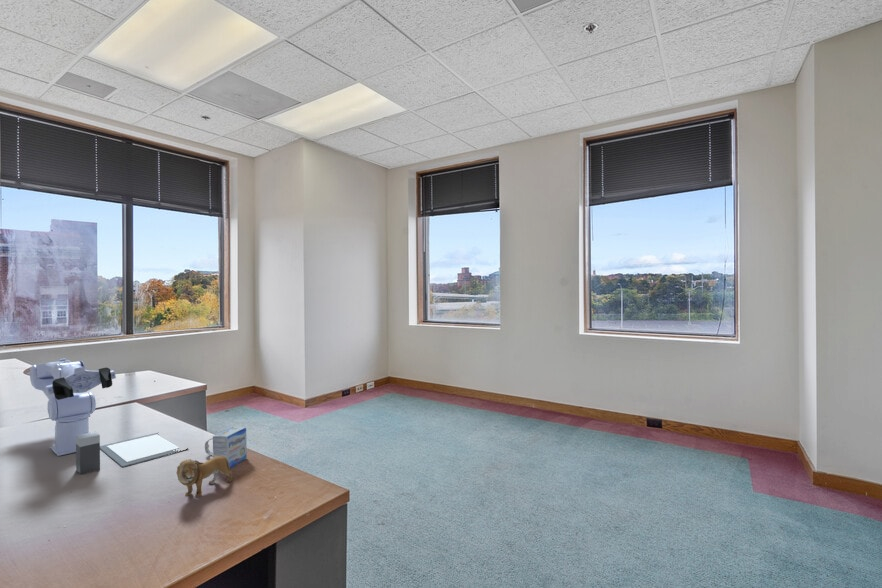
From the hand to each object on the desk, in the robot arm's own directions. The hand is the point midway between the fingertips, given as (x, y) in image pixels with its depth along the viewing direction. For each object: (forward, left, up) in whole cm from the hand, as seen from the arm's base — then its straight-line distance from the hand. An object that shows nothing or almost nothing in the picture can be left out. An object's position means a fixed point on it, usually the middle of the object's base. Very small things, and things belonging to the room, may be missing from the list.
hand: (90, 388), depth 113 cm
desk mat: (-5, +13, -21) cm, 25 cm away
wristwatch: (+16, +24, -21) cm, 36 cm away
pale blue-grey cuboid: (+1, -1, -21) cm, 21 cm away
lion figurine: (+36, +13, -21) cm, 44 cm away
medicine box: (+25, +24, -21) cm, 41 cm away
